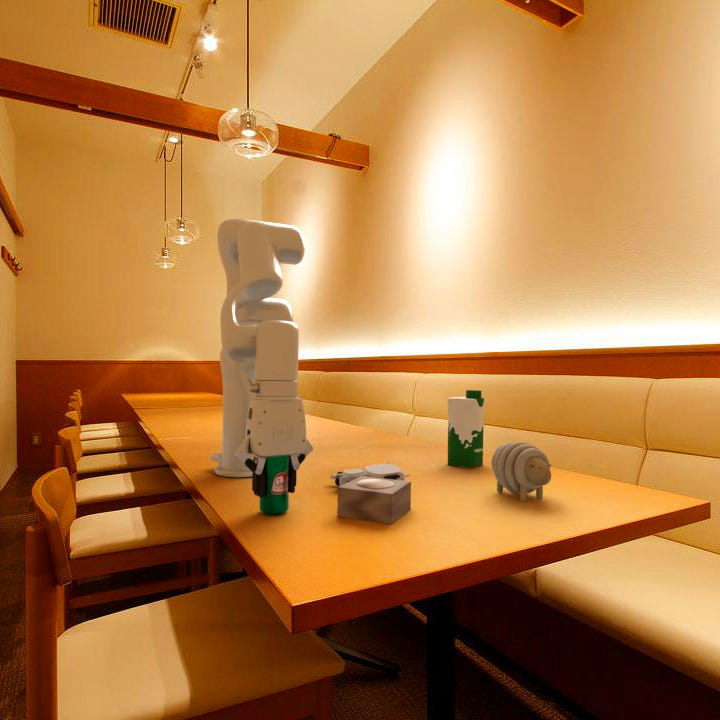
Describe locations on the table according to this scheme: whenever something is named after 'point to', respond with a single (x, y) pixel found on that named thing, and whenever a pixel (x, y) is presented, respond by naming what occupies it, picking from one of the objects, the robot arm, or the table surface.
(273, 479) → the soda can
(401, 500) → the base brick
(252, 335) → the robot arm
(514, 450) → the toy sheep
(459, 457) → the milk carton
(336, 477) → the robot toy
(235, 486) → the table surface
